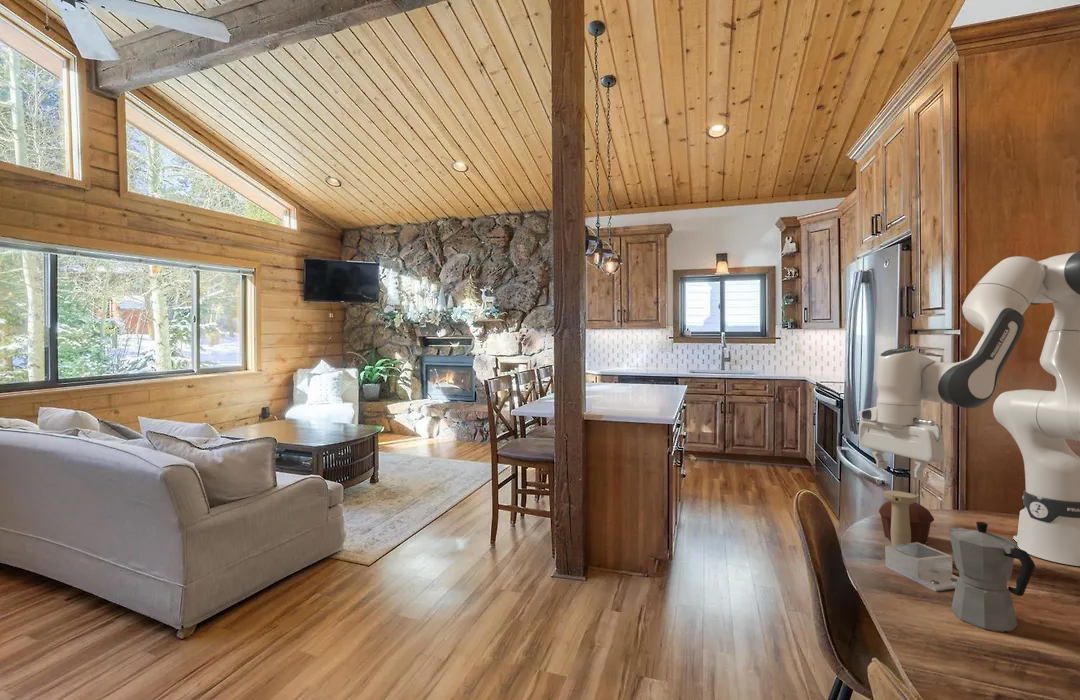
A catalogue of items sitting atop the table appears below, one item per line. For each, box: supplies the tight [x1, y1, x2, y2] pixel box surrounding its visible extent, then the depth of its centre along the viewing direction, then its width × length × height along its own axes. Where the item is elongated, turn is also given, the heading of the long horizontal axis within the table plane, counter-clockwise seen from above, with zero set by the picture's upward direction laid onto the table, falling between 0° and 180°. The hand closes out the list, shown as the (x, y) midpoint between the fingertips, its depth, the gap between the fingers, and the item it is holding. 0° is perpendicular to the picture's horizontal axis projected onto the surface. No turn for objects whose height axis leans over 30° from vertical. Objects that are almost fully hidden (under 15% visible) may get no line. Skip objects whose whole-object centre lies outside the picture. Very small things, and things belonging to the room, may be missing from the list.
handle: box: [883, 489, 918, 545], centre depth 121 cm, size 5×6×15 cm
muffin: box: [878, 500, 935, 545], centre depth 130 cm, size 12×11×10 cm
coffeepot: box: [947, 521, 1036, 633], centre depth 92 cm, size 15×9×18 cm, turn 6°
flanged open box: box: [884, 542, 959, 592], centre depth 110 cm, size 9×12×5 cm
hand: (898, 472), depth 121 cm, fingers open, 8 cm apart
